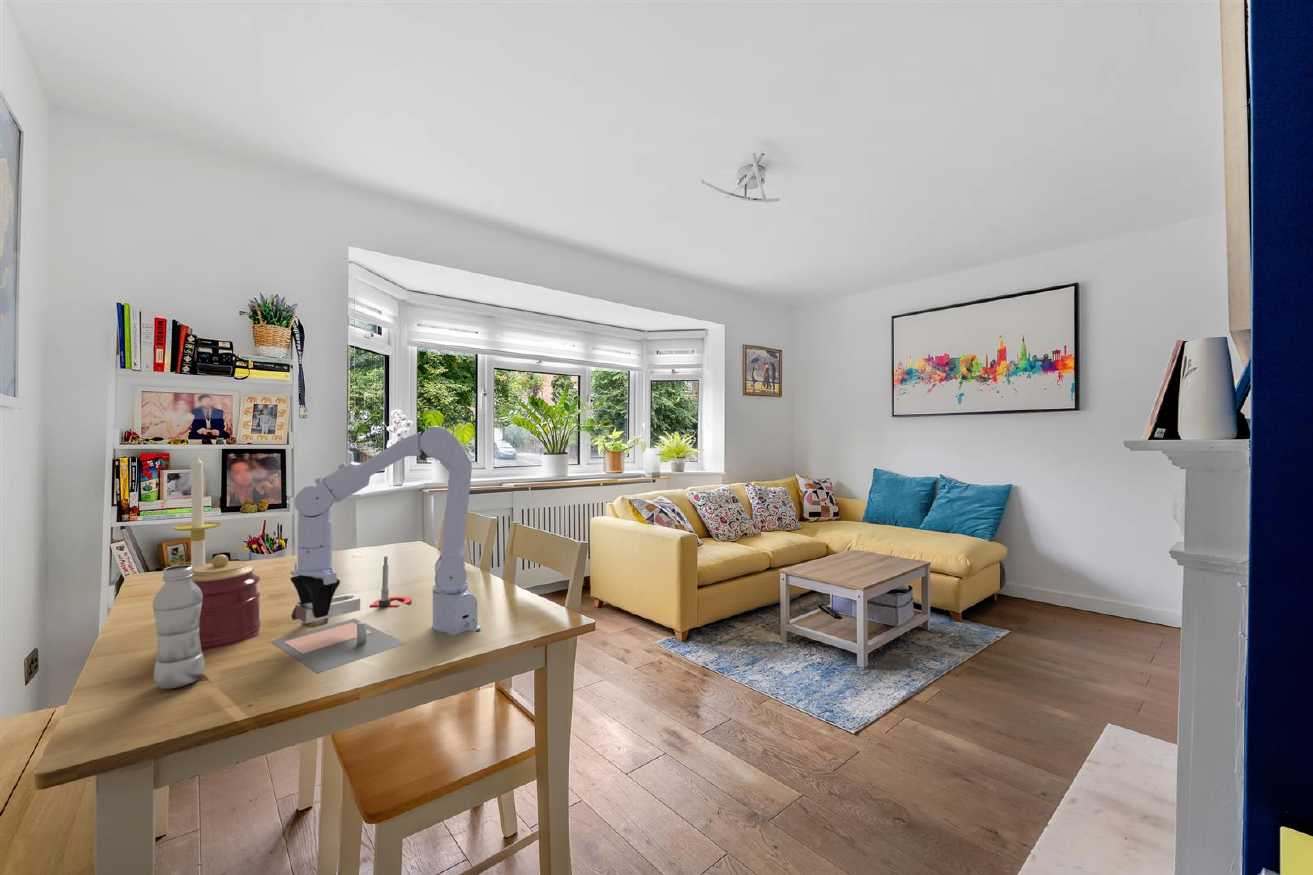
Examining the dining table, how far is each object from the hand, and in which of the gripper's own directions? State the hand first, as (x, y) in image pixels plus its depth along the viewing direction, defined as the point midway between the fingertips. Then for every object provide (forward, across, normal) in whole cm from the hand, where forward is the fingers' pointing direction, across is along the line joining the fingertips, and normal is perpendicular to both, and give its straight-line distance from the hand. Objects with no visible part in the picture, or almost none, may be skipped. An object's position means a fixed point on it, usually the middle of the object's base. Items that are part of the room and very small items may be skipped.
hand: (315, 613), depth 107 cm
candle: (+7, -42, -8) cm, 43 cm away
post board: (+7, +4, +2) cm, 8 cm away
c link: (+1, 0, +2) cm, 3 cm away
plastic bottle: (+7, -1, -20) cm, 22 cm away
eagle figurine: (+7, -12, +4) cm, 14 cm away
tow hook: (+7, -12, +22) cm, 26 cm away
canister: (+7, -18, -10) cm, 22 cm away
